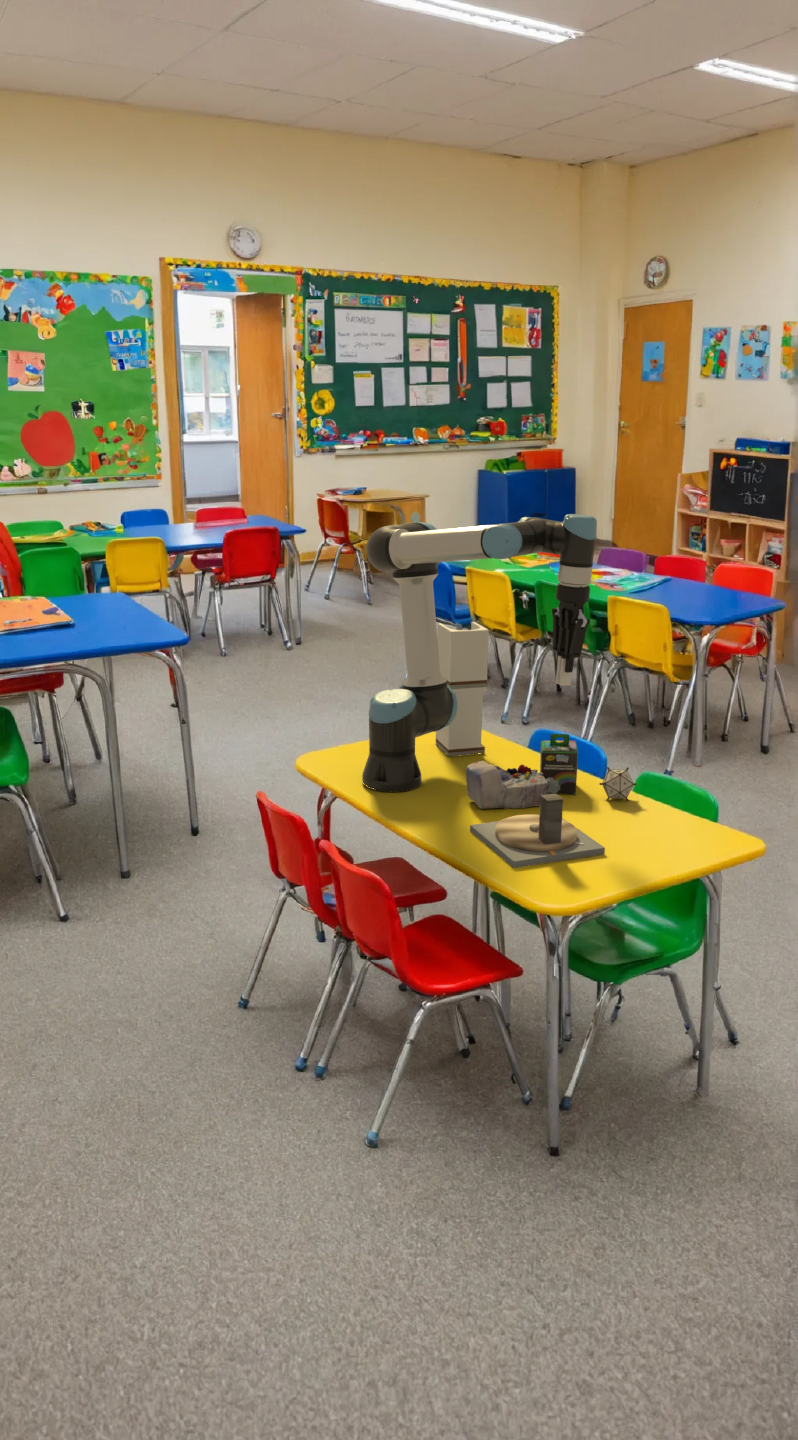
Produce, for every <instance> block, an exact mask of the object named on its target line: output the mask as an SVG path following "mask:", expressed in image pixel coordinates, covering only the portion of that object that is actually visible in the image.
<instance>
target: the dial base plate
mask: <svg viewBox="0 0 798 1440" xmlns="http://www.w3.org/2000/svg"><path fill="white" fill-rule="evenodd" d="M562 820H565V821H567V820H566V819H564V818H563V817H562ZM499 821H500V820H497V821H491V822H483V823H482V822H481V823H475V824H470V825H469V831H470V833H471V834H473V836H475V837H476V838H477V837H478V838H477V839H478V840H480V841H481V842H482V843H484V845H486V846H487V847H488V848H489V849H491V850H492V851H493V852H494V853H496V855H498V856H499V857H500V858H501V859H502V858H503V859H502V860H504V861H505V863H507V864H508V865H510V867H512V868H513V869H517V868H522V867H523V866H524V867H529V866H528V865H530V866H536V865H543V864H549V862H550V863H556V862H561V861H562V860H563V861H569V860H575V858H576V859H581V858H587V857H588V856H589V857H595V856H600V855H605V853H606V848H605V847H604V846H603V845H602V844H600V842H597V841H596V840H595V839H593V838H592V837H590V836H589V835H588V834H586V833H585V832H584V831H582V830H580V829H579V828H578V827H576V829H577V840H576V842H575V843H574V844H573V845H571V846H569V847H567V848H564V849H560V850H554V851H529V850H522V849H518V848H514V847H511V846H508V845H506V844H504V843H502V842H500V841H499V840H498V839H497V837H496V835H495V828H496V824H497V823H498V822H499ZM589 857H588V858H589ZM568 859H569V860H568ZM542 863H543V864H542Z"/></svg>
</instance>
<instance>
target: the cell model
mask: <svg viewBox="0 0 798 1440" xmlns="http://www.w3.org/2000/svg"><path fill="white" fill-rule="evenodd" d="M542 775H543V773H541V772H540V771H539V772H538V769H535V768H534V769H531V767H528V766H525V765H524V764H519V766H518V767H517V768H516V767H513V768H507V769H503V768H501V767H500V766H499V765H494V764H491V763H488V762H486V761H485V760H480V761H475V762H472V763H469V764H468V765H467V766H466V768H465V779H466V780H465V781H466V788H467V790H466V791H467V796H468V798H469V799H470V800H472V801H473V803H475V805H476V806H477V807H478V808H480V809H482V810H483V809H501V808H503V809H511V810H512V809H513V810H514V809H525V808H530V807H540V796H541V795H547V793H546V790H547V789H548V788H549V787H550V783H551V780H550V779H545V778H544V776H542Z"/></svg>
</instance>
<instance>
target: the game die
mask: <svg viewBox="0 0 798 1440" xmlns="http://www.w3.org/2000/svg"><path fill="white" fill-rule="evenodd" d="M629 768H630V767H629V766H628V767H626V768H625V769H610V767H609V766H606V769H607V773H606V774H605V776H604V778H603V781H602V782H600V783H599V785H600V786H602V787H603V789H604V792H605V794H606V796H607V798H606V801H607V802H608V801H610V799H613V800H614V799H617V800H618V799H619V800H620V799H623V800H625V801H627V802H629V798H628V797H629V795H630V793H631V791H632V789H633V787H634V786H637V783H636V782H634V781H633V780H632V777H631V776H630V775H631V774H630V773H629Z"/></svg>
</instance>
